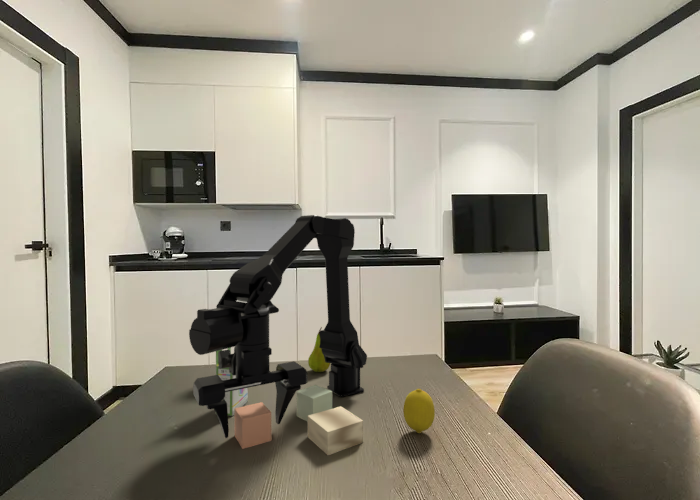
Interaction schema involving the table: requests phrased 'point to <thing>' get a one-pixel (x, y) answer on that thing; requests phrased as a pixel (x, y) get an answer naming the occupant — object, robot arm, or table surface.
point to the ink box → (232, 397)
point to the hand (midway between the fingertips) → (252, 429)
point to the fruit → (317, 357)
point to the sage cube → (313, 401)
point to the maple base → (335, 430)
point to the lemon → (419, 410)
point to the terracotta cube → (252, 424)
